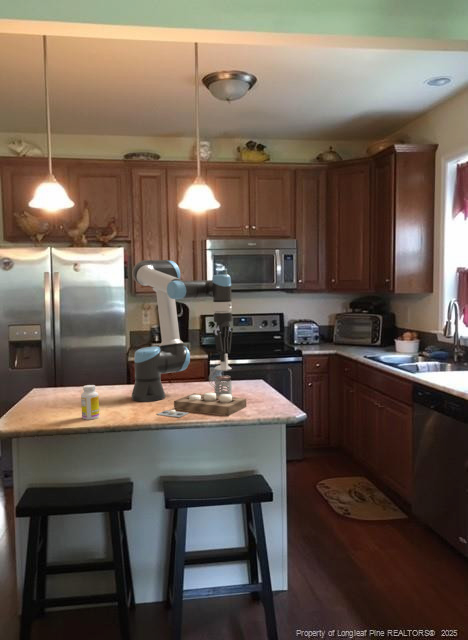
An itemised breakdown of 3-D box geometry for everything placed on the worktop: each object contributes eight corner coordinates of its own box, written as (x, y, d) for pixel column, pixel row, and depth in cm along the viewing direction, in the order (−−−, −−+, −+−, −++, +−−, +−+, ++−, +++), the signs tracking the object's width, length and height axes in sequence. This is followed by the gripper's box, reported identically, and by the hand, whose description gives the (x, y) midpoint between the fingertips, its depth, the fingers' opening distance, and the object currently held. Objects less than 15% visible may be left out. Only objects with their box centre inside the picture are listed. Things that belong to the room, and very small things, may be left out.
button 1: (187, 404, 219) (187, 396, 219) (193, 401, 223) (193, 394, 223) (197, 405, 217) (197, 397, 216) (203, 402, 221) (203, 395, 221)
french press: (229, 400, 229) (228, 345, 227) (205, 399, 233) (204, 344, 231) (236, 396, 238) (236, 342, 237) (213, 394, 242) (212, 342, 240)
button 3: (217, 403, 212) (217, 396, 212) (223, 401, 216) (223, 393, 216) (228, 404, 210) (228, 397, 209) (234, 402, 214) (233, 394, 214)
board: (174, 409, 215) (173, 400, 215) (194, 401, 230) (194, 393, 229) (228, 415, 204) (228, 406, 203) (246, 406, 218) (246, 398, 217)
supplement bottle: (100, 415, 207) (99, 384, 206) (97, 419, 201) (95, 387, 200) (84, 416, 207) (83, 384, 206) (79, 420, 200) (78, 387, 199)
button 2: (202, 401, 215) (202, 394, 215) (208, 399, 220) (208, 392, 219) (212, 403, 213) (212, 395, 213) (218, 400, 217) (218, 393, 217)
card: (156, 414, 207) (156, 411, 207) (166, 410, 213) (166, 407, 213) (179, 417, 202) (179, 413, 202) (188, 413, 208) (188, 409, 208)
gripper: (222, 313, 203) (224, 372, 204) (238, 311, 214) (239, 367, 216) (206, 313, 206) (208, 371, 208) (222, 311, 218) (224, 366, 219)
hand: (224, 369), depth 212 cm, fingers closed
